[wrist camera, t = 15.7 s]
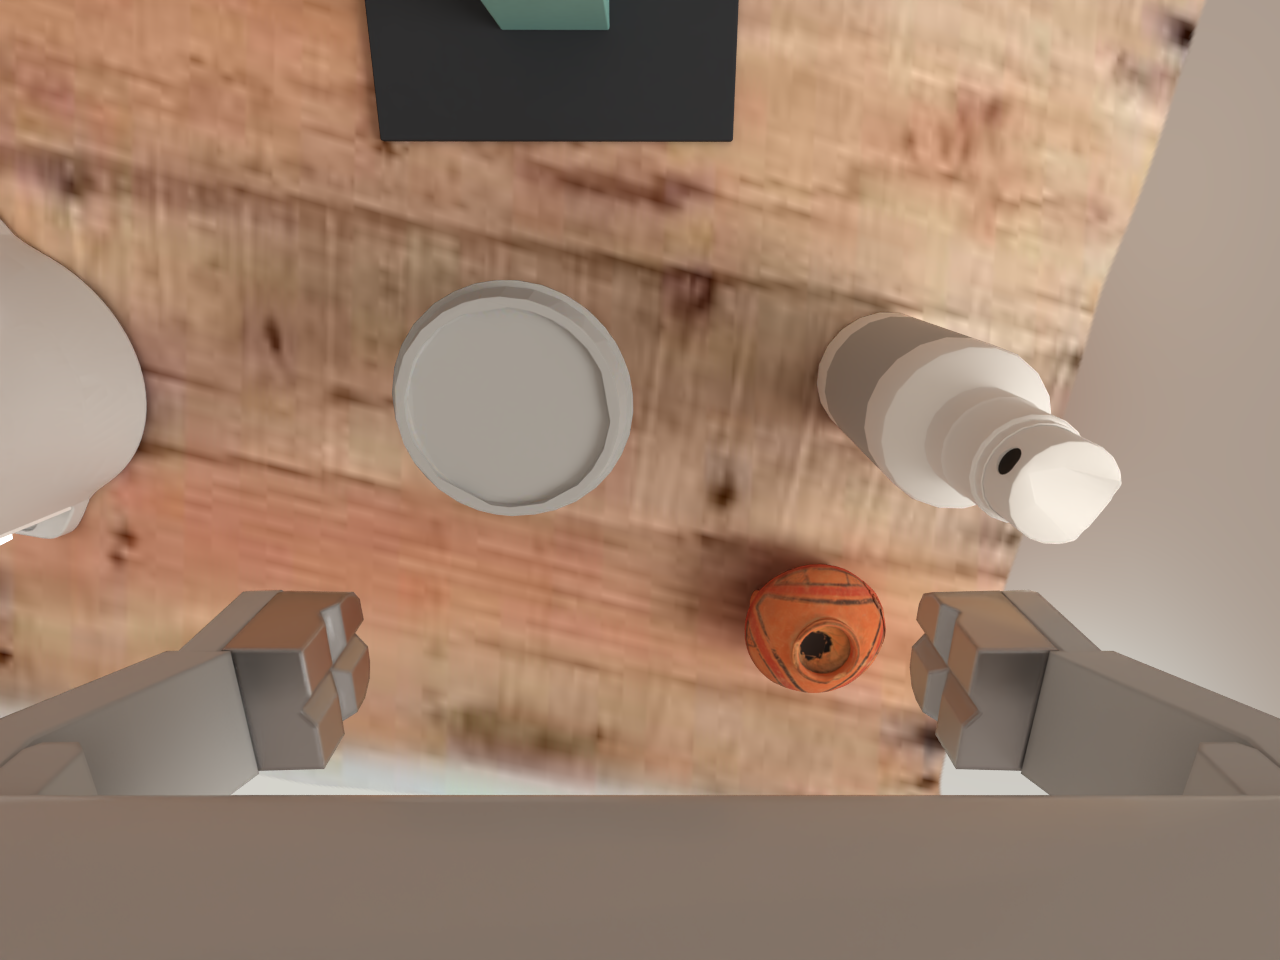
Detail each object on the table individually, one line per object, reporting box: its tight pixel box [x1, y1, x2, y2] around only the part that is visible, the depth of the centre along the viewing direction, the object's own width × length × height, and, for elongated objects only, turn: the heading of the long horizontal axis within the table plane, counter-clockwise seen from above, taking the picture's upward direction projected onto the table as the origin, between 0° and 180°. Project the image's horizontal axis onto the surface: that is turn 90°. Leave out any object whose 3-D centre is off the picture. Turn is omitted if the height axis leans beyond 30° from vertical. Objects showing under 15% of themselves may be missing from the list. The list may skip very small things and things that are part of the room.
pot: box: [745, 564, 886, 693], centre depth 40 cm, size 8×8×7 cm
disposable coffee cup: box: [392, 280, 633, 516], centre depth 32 cm, size 10×10×12 cm
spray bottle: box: [817, 312, 1121, 544], centre depth 30 cm, size 7×7×18 cm
